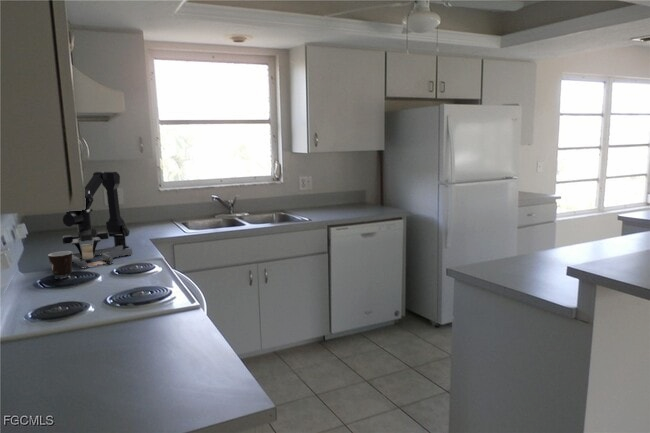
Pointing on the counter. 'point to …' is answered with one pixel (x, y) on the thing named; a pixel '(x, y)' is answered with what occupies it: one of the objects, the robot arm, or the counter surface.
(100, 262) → the pad
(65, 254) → the coffee mug
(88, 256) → the maple block
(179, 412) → the counter surface
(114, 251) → the channel
